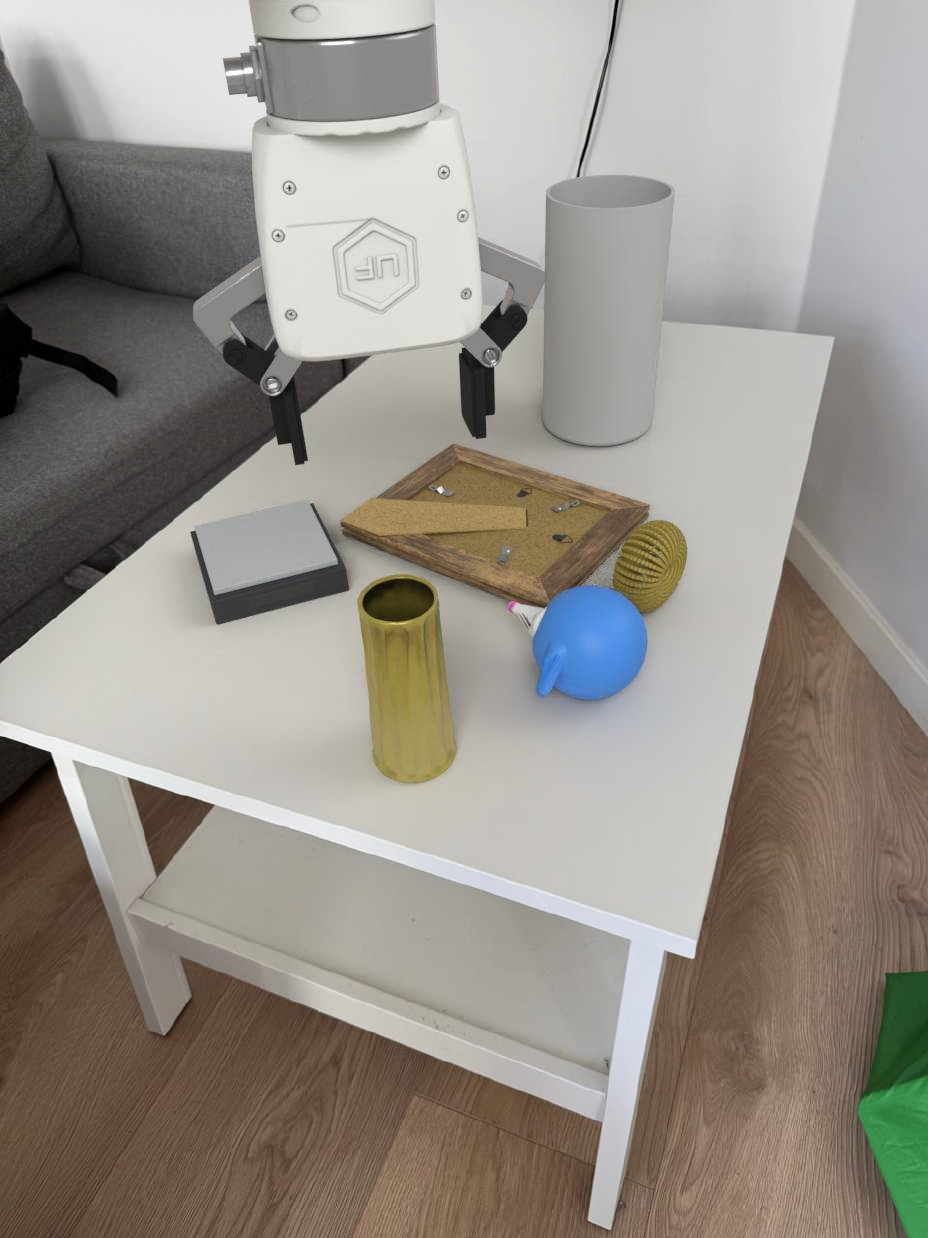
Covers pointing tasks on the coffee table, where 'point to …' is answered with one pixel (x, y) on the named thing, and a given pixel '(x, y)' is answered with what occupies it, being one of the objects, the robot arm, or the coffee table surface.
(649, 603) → the sculpture
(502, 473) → the picture frame
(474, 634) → the coffee table surface
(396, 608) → the vase
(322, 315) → the robot arm
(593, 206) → the cylinder vase
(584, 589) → the blue mole toy
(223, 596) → the scale
